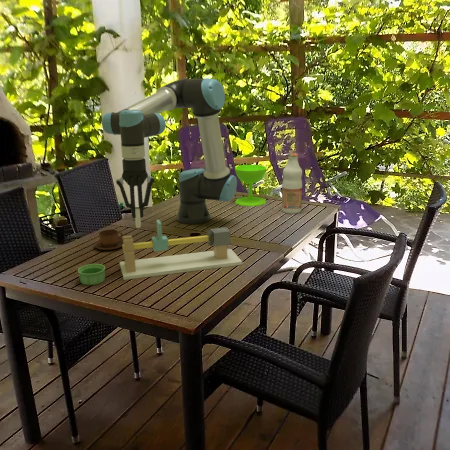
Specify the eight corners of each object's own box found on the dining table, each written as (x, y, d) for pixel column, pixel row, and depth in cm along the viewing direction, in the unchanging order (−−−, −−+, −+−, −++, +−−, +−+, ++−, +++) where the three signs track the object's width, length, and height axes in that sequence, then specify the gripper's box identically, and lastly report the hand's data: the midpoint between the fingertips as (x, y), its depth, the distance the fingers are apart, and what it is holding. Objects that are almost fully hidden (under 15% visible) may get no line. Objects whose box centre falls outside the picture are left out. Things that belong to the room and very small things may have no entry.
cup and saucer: (107, 240, 210) (106, 226, 208) (131, 244, 205) (130, 230, 203) (88, 249, 200) (86, 235, 198) (112, 254, 195) (111, 239, 193)
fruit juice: (277, 210, 247) (278, 153, 238) (292, 207, 252) (293, 151, 244) (290, 215, 240) (292, 156, 231) (305, 211, 245) (307, 153, 236)
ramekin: (90, 273, 177) (88, 262, 175) (111, 277, 173) (110, 265, 172) (73, 283, 169) (71, 271, 167) (95, 287, 165) (94, 275, 164)
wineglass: (250, 208, 253) (250, 172, 247) (228, 201, 264) (228, 167, 259) (272, 202, 263) (272, 167, 257) (250, 196, 274) (250, 163, 269)
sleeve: (152, 247, 181) (150, 220, 178) (166, 245, 182) (164, 218, 179) (154, 251, 176) (152, 224, 173) (168, 250, 177) (167, 223, 174)
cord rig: (119, 264, 184) (117, 232, 180) (230, 251, 195) (230, 221, 191) (123, 279, 171) (120, 245, 167) (242, 264, 182) (242, 232, 178)
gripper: (114, 161, 162) (120, 231, 169) (155, 158, 165) (158, 227, 172) (112, 157, 169) (117, 225, 176) (151, 155, 172) (155, 221, 179)
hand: (138, 226), depth 174 cm, fingers closed
